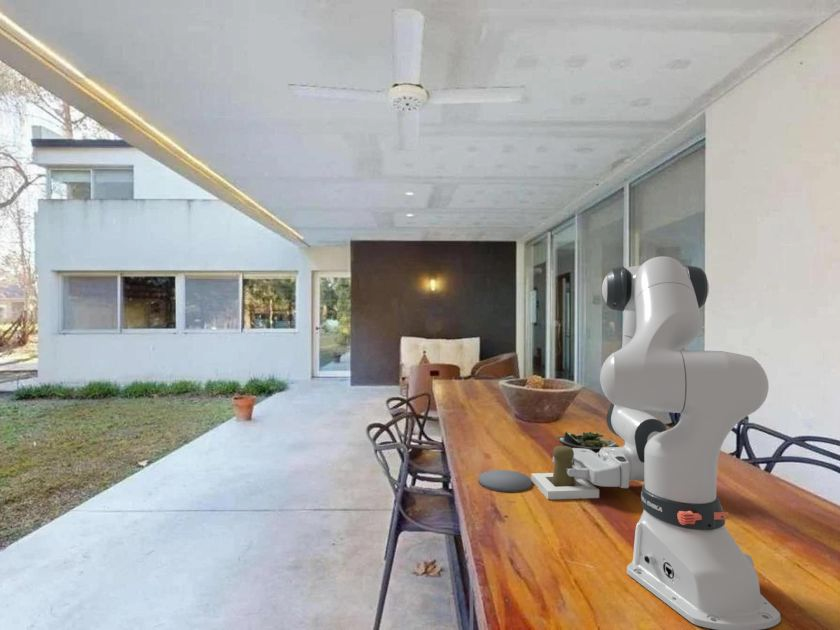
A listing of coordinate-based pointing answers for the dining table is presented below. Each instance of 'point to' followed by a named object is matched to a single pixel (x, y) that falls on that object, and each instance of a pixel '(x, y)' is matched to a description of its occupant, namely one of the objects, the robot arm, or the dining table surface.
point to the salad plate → (586, 441)
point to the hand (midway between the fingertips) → (560, 465)
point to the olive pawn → (562, 466)
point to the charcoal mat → (504, 481)
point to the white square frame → (564, 487)
